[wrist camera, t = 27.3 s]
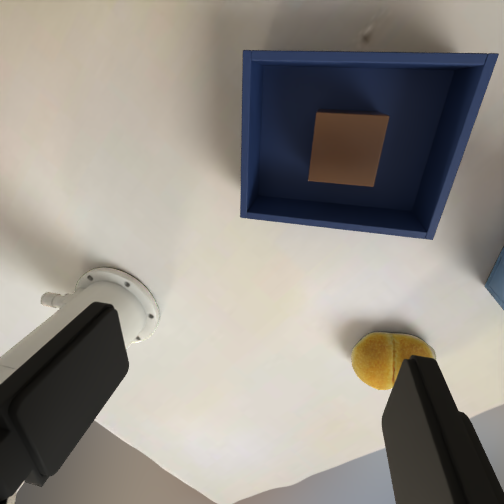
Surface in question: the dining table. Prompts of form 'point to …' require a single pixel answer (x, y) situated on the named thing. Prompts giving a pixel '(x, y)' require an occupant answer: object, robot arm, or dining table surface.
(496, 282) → the upper bin
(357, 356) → the bread roll
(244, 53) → the lower bin
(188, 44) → the dining table surface
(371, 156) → the block
